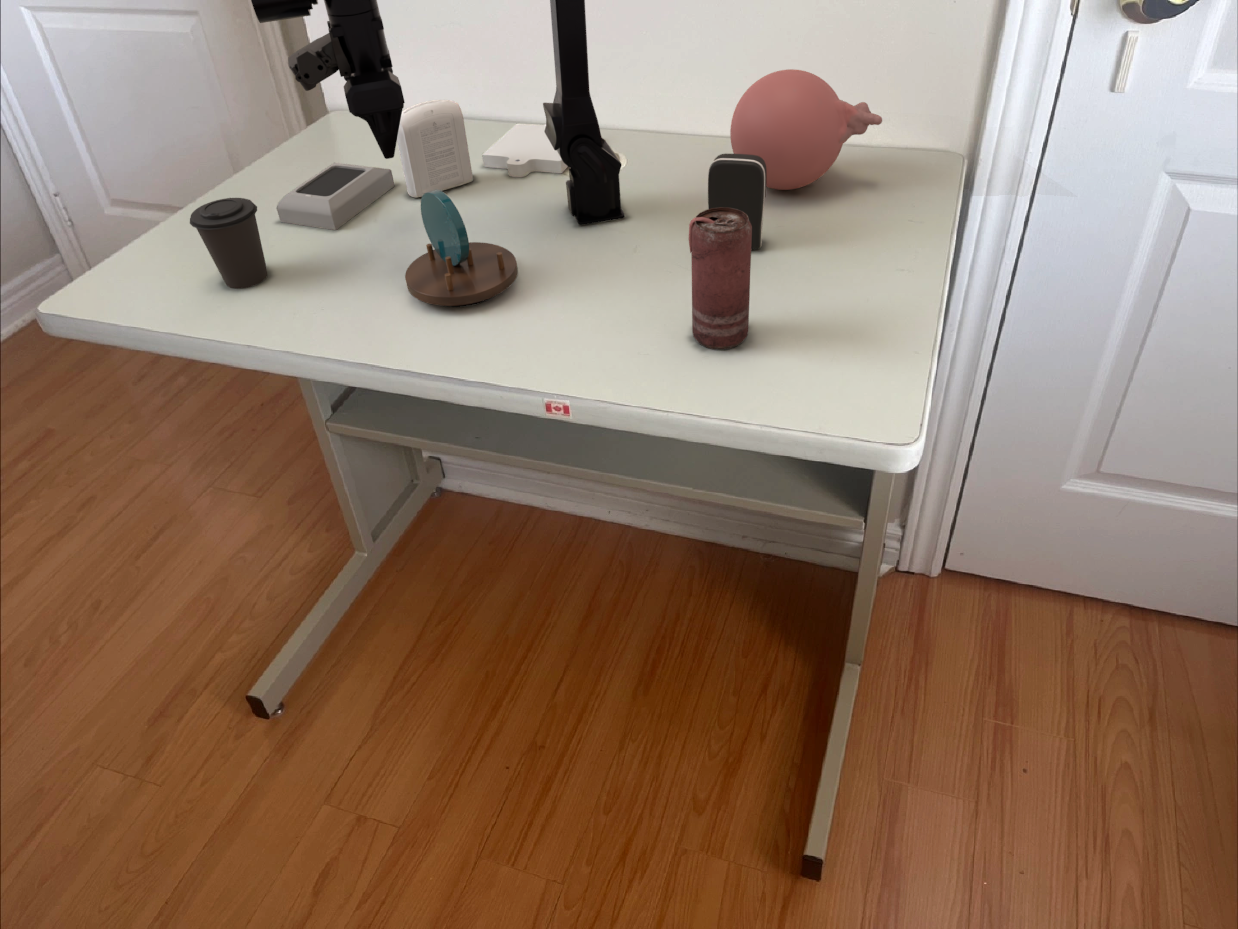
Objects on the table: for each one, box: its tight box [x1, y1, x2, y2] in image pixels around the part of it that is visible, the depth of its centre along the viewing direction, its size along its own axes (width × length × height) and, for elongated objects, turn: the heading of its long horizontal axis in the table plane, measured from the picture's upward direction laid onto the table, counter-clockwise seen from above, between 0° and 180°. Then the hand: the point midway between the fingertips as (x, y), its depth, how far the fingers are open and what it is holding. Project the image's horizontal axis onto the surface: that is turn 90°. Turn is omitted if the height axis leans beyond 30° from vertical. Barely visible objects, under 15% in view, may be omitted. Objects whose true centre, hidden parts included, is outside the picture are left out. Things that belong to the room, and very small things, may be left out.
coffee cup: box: [189, 197, 269, 290], centre depth 116 cm, size 8×8×10 cm
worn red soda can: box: [688, 207, 752, 351], centre depth 98 cm, size 6×6×14 cm
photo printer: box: [396, 99, 474, 199], centre depth 134 cm, size 10×4×12 cm, turn 123°
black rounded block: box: [707, 153, 767, 250], centre depth 115 cm, size 7×4×11 cm, turn 74°
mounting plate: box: [481, 122, 569, 178], centre depth 144 cm, size 18×13×2 cm
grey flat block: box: [275, 162, 396, 231], centre depth 134 cm, size 10×4×15 cm
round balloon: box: [729, 68, 883, 191], centre depth 125 cm, size 15×20×15 cm
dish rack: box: [404, 190, 519, 307], centre depth 110 cm, size 14×14×10 cm
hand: (385, 144), depth 115 cm, fingers open, 9 cm apart
